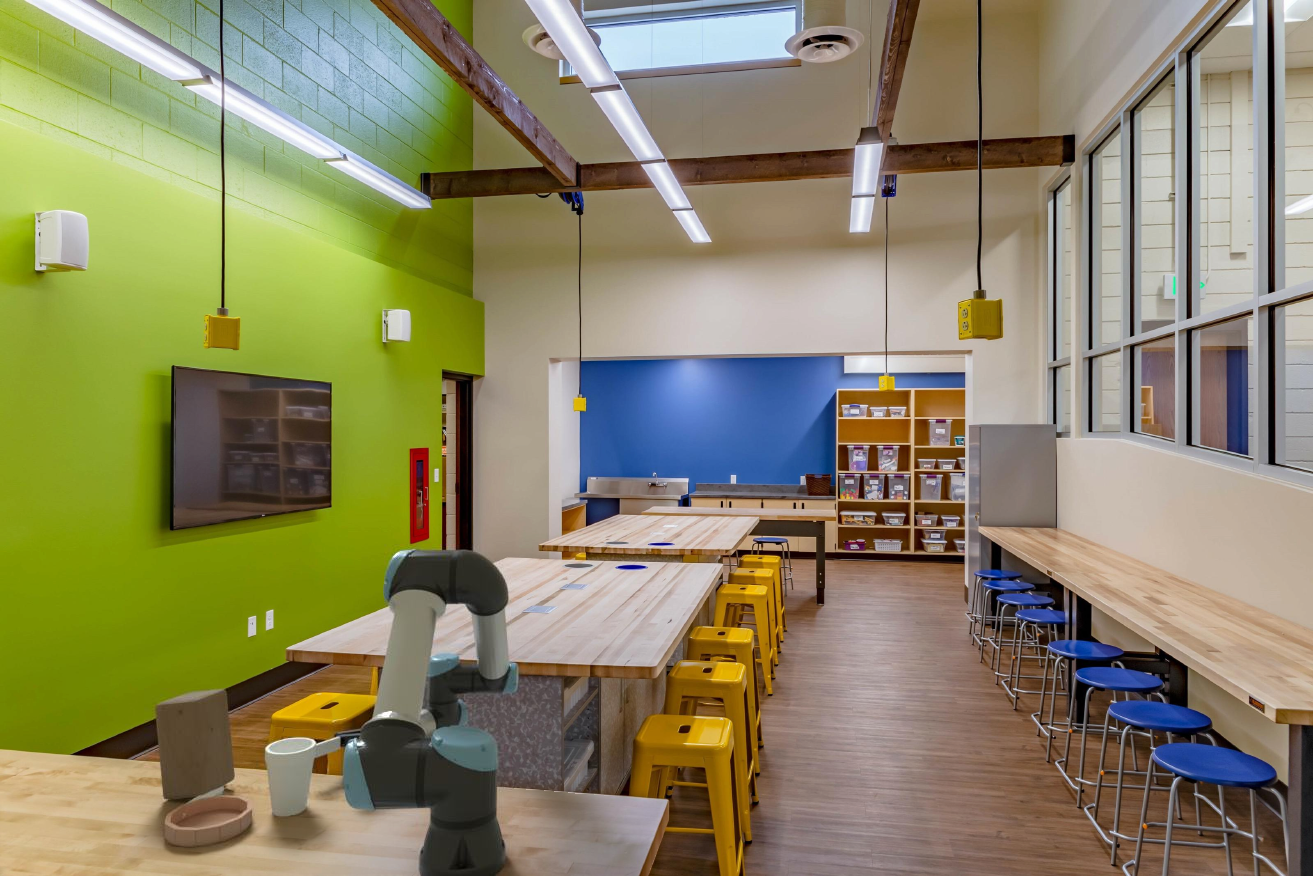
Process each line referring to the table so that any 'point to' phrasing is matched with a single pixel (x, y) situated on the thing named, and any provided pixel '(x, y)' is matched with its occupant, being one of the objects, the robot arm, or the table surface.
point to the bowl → (208, 821)
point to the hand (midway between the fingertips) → (332, 758)
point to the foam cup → (289, 774)
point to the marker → (209, 795)
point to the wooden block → (194, 743)
